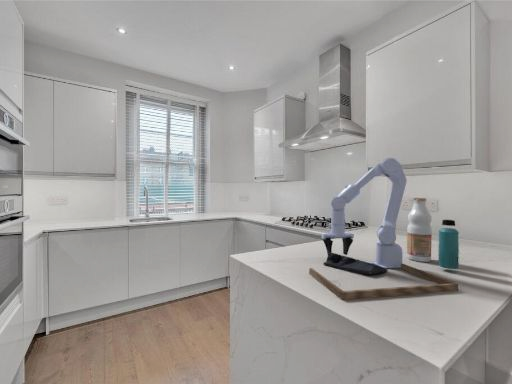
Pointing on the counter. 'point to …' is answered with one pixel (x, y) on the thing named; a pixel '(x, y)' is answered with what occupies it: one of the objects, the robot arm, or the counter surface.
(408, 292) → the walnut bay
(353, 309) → the counter surface
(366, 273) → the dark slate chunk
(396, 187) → the robot arm
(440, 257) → the beverage bottle
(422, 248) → the fruit juice
